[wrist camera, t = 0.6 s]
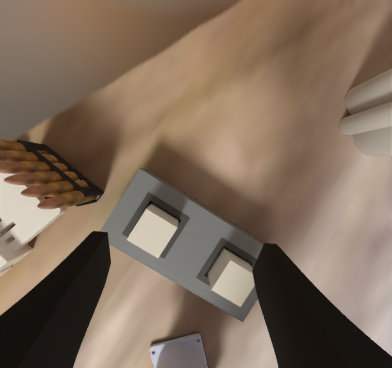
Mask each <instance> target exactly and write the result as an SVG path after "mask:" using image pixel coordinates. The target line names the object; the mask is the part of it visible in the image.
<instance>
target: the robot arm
mask: <svg viewBox="0 0 392 368" xmlns="http://www.w3.org/2000/svg"><path fill="white" fill-rule="evenodd" d="M110 265H111V259H110V249H109V239H108V232H98V231H93V232H92V233H90V234H89V235H88V236H87V237H86V239H85V240H84V241H83V242H82V243H81V244H80V245H79V246H78V247H77V248H76V249H75V250H74V251H73V252H72V253H71V254H70V255H69V256H68V257H67V258H66V259H65V260H63V261H62V262H61V263H60V264H59V265H58V266H57V267H56V268H55V269H54V270H53V271H52V272H51V273H50V274H49V275H48V276H46V277H45V278H44V279H43V280H42V281H41V282H40V283H39V284H37V285H36V286H35V287H34V288H33V289H32V290H31V291H29V292H28V293H27V294H26V295H25V296H24V297H23V298H21V299H20V300H19V301H18V302H17V303H15V304H14V305H13V306H12V307H10V308H9V309H8V310H7V311H6V312H4V313H3V314H2V315H1V316H0V368H73V366H74V363H75V359H76V357H77V354H78V351H79V348H80V346H81V343H82V340H83V338H84V336H85V333H86V331H87V328H88V326H89V323H90V321H91V318H92V316H93V313H94V311H95V308H96V306H97V303H98V301H99V298H100V296H101V293H102V291H103V288H104V286H105V282H106V279H107V275H108V272H109V268H110ZM252 273H253V279H254V284H255V289H256V293H257V297H258V300H259V303H260V306H261V310H262V313H263V316H264V319H265V322H266V325H267V329H268V332H269V335H270V338H271V341H272V344H273V348H274V351H275V355H276V358H277V362H278V367H279V368H392V356H391V355H389V354H388V353H387V352H386V351H384V350H383V349H382V348H381V347H380V346H378V345H377V344H376V343H375V342H374V341H373V340H371V339H370V338H369V337H368V336H367V335H366V334H365V333H363V332H362V331H361V330H360V329H359V328H358V327H357V326H356V325H354V324H353V323H352V322H351V321H350V320H349V319H348V318H347V317H346V316H345V315H344V314H342V313H341V312H340V311H339V310H338V309H337V308H336V307H335V306H334V305H333V304H332V303H331V302H330V301H329V300H328V299H327V298H326V297H325V296H324V295H323V294H322V293H321V292H320V291H319V290H318V289H317V288H316V287H315V286H314V284H313V283H312V282H311V281H310V280H309V279H308V278H307V277H306V276H305V275H304V274H303V273H302V272H301V271H300V269H299V268H298V267H297V266H296V265H295V264H294V263H293V262H292V261H291V259H290V258H289V257H288V256H287V255H286V254H285V253H284V252H283V251H282V250H281V248H280V247H279V246H278V245H277V244H269V243H264V245H263V247H262V249H261V251H260V254H259V256H258V258H257V261H256V263H255V265H254V267H253V270H252ZM198 339H199V340H198ZM149 350H150V354H151V358H152V363H153V367H154V368H208V365H207V361H206V357H205V352H204V348H203V344H202V339H201V335H200V334H199V333H195V334H192V335H188V336H184V337H180V338H176V339H172V340H169V341H165V342H161V343H157V344H153V345H151V346H150V349H149ZM152 351H155V352H152Z"/></svg>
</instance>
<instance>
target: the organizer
mask: <svg viewBox="0 0 392 368" xmlns="http://www.w3.org/2000/svg"><path fill="white" fill-rule="evenodd" d="M12 175H15V174H6V173H0V276H2V275H3V274H4V273H5V272H6V271H8V270H9V269H10V268H11V267H12V266H11V265H12V264H14V263H16V262H18V261H20V260H21V259H22V258H23V257H24V256H26V255H27V254H28V253H29V252H30V251H32V250H33V248H32V247H31V246H30V245H29V244H28V242H29V241H31V240H32V239H33V238H34V237H35V236H37V235H38V234H39V233H40V232H41V231H43V230H44V229H45V228H46V227H47V226H49V225H50V224H51V223H52V222H53V221H55V220H56V219H57V218H58V217H59V216H61V215H62V214H63V213H64V212H65V211H66V207H61V208H56V209H40V208H38V207H37V205H38V204H39V203H40V202H42V201H43V200H45V198H44V197H26V196H23V195H21V192H22V191H23V190H25V189H27V188H29V187H33V185H13V184H9V183H7V182H5V181H4V179H5V178H6V177H9V176H12ZM14 224H16V225H15V226H14V227H13V228H12V225H14Z"/></svg>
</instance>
